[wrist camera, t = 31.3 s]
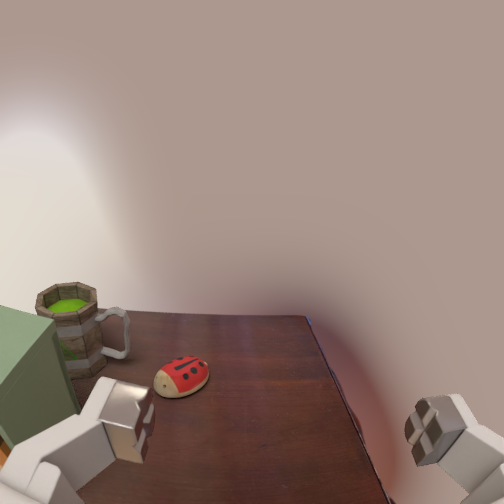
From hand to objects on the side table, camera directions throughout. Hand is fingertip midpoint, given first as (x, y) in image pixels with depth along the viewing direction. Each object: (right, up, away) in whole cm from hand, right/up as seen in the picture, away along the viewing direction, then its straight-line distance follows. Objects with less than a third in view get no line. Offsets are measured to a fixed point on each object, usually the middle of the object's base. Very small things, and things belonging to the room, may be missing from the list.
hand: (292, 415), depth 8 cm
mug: (-28, -14, +38) cm, 49 cm away
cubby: (-29, -21, +19) cm, 40 cm away
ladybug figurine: (-12, -16, +38) cm, 43 cm away
